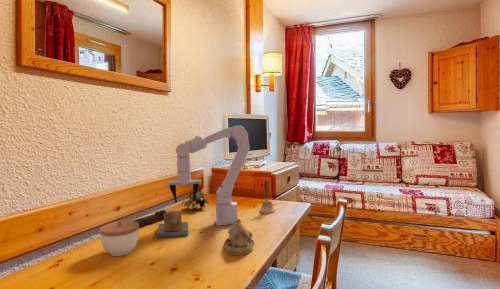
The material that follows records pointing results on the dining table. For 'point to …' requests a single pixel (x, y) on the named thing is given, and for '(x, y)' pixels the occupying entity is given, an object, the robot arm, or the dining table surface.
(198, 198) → the green leafy plant
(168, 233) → the grey square picture frame
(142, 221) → the hand tool
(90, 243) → the dining table surface
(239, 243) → the ceramic model
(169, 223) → the taupe wooden cube
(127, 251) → the lidded bowl
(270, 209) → the hand bell
